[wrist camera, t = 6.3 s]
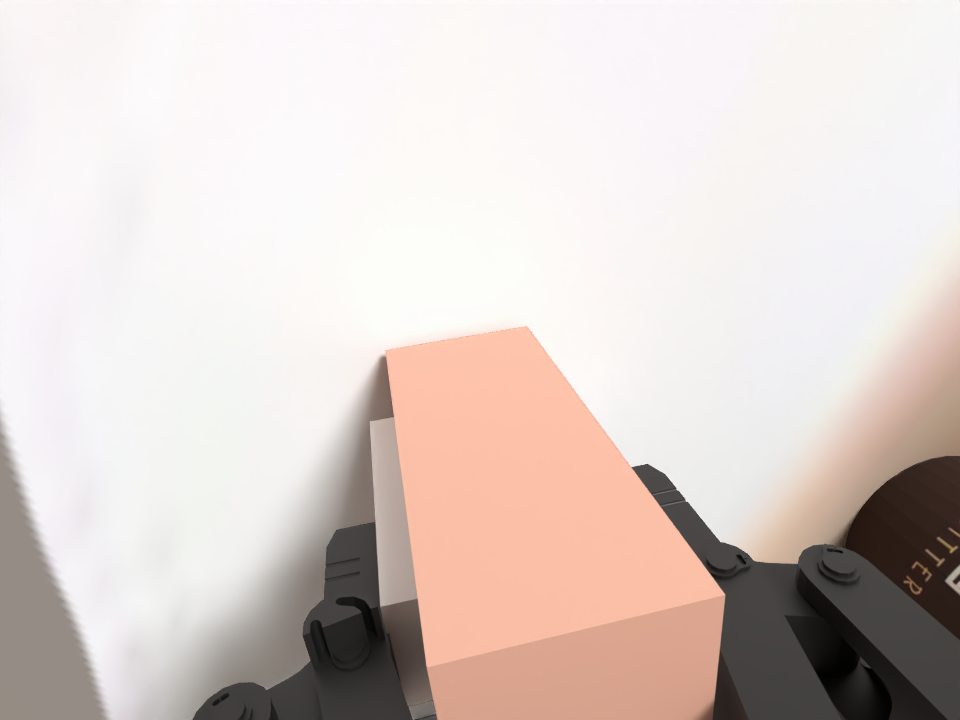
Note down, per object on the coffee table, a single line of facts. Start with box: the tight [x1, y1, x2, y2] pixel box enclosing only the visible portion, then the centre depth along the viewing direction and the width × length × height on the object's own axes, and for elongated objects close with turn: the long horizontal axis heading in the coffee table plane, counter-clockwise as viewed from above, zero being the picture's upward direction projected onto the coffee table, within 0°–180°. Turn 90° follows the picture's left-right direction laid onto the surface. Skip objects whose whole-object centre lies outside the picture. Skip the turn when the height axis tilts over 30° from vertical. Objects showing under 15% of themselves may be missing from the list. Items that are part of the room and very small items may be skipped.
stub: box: [385, 326, 725, 720], centre depth 13 cm, size 6×4×10 cm, turn 6°
